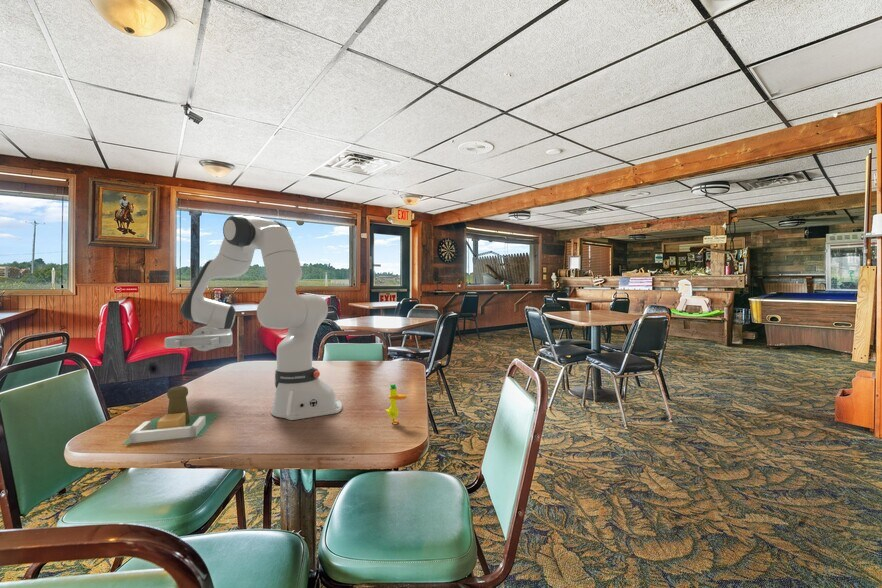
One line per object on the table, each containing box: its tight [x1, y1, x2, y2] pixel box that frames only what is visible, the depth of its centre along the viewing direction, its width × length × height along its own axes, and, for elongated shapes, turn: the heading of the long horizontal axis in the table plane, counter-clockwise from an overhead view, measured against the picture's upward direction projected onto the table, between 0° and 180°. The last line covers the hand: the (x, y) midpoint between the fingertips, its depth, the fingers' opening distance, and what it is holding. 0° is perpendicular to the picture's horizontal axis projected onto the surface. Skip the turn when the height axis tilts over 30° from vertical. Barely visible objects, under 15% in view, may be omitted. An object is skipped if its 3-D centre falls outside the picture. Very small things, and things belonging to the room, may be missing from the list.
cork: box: [166, 385, 190, 424], centre depth 111 cm, size 6×6×11 cm
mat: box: [121, 412, 220, 446], centre depth 109 cm, size 18×20×1 cm
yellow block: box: [157, 413, 186, 429], centre depth 106 cm, size 5×6×4 cm
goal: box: [128, 416, 206, 444], centre depth 104 cm, size 15×10×2 cm, turn 109°
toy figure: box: [384, 383, 408, 424], centre depth 114 cm, size 7×4×12 cm, turn 92°
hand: (194, 343), depth 124 cm, fingers open, 8 cm apart
